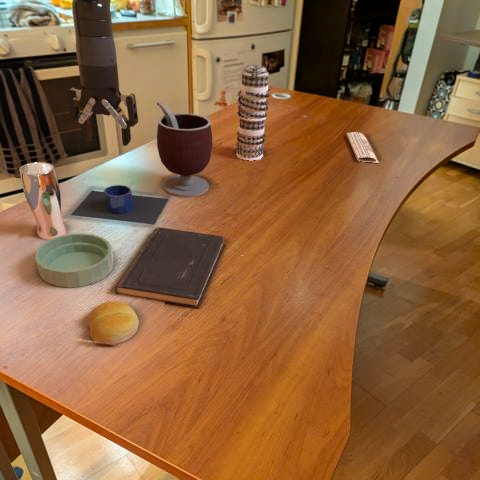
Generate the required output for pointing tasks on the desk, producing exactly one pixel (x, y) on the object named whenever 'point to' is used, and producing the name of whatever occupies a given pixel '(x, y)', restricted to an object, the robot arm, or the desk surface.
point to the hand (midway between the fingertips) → (107, 142)
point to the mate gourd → (184, 151)
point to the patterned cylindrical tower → (252, 112)
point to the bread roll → (112, 322)
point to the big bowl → (74, 260)
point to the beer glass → (43, 198)
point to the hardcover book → (173, 267)
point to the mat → (142, 212)
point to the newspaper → (361, 147)
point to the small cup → (118, 199)
